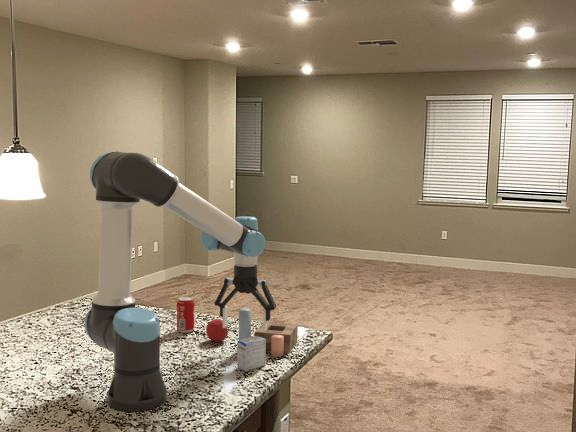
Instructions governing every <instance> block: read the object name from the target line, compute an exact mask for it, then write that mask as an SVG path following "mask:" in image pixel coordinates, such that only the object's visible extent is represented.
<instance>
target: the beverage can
mask: <svg viewBox="0 0 576 432" xmlns="http://www.w3.org/2000/svg"><path fill="white" fill-rule="evenodd" d="M194 329H195V301H194V299H193V297H192V296H191V297H190V296H181V297H179V298H178V300H177V302H176V330H177V331H178V332H179V333H185V334H187V333H192V332H193V330H194Z"/></svg>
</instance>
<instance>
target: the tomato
mask: <svg viewBox="0 0 576 432" xmlns="http://www.w3.org/2000/svg"><path fill="white" fill-rule="evenodd" d="M205 331H206V332H205V333H206V336H207V338H208V339H209V340H210V341H212V342H215V343H219V342H220V343H221V342H222V341H224V340H226V339H227V337H228V335H229V328H228V326H227V327H225V328H223V319H219V318H216V319H212V320H211V321H208V324H207V325H206V329H205Z"/></svg>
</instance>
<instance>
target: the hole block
mask: <svg viewBox="0 0 576 432" xmlns="http://www.w3.org/2000/svg"><path fill="white" fill-rule="evenodd" d="M298 326H299V325H298V324H294V323H293V324H292V323H291V324H290V323H281V322H270V321H267V330H266V331H263V323H262V324H261V325H259V327H258V328H257V329H256V330H255V331H254V336H259V337H262V338H264V339H266V351H270V352H271V336H273V335H282V336H284V351H283V353H288V354H289V353H291V352H292V350H293V349H294V348H295V346H296V344H297V343H298V332H299V331H298Z"/></svg>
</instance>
